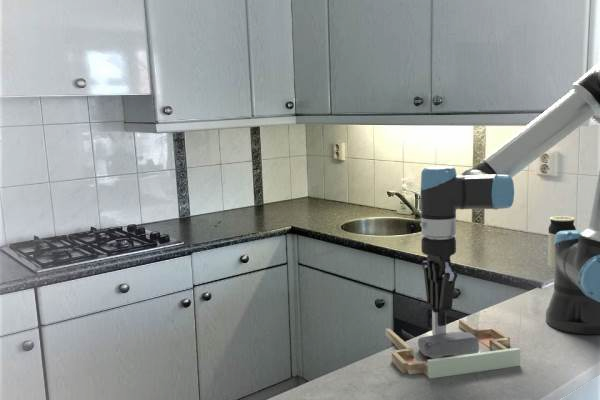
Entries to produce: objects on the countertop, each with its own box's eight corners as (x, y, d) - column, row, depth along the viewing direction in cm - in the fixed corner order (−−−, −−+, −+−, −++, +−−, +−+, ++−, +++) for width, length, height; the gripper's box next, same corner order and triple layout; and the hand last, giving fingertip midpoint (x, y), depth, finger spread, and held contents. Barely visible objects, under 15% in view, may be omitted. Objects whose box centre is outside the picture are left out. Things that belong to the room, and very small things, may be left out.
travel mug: (572, 276, 184) (574, 220, 181) (545, 274, 188) (546, 219, 186) (576, 270, 190) (577, 216, 188) (550, 268, 195) (551, 215, 192)
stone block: (464, 322, 132) (482, 338, 122) (464, 343, 133) (482, 360, 123) (413, 326, 131) (426, 343, 121) (413, 347, 132) (426, 365, 122)
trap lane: (477, 325, 144) (477, 311, 143) (537, 363, 120) (537, 347, 120) (369, 338, 138) (369, 324, 137) (411, 381, 114) (410, 364, 114)
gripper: (411, 232, 135) (412, 329, 138) (436, 242, 123) (436, 350, 126) (440, 229, 137) (441, 326, 140) (468, 240, 124) (468, 346, 127)
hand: (439, 337), depth 133 cm, fingers closed
